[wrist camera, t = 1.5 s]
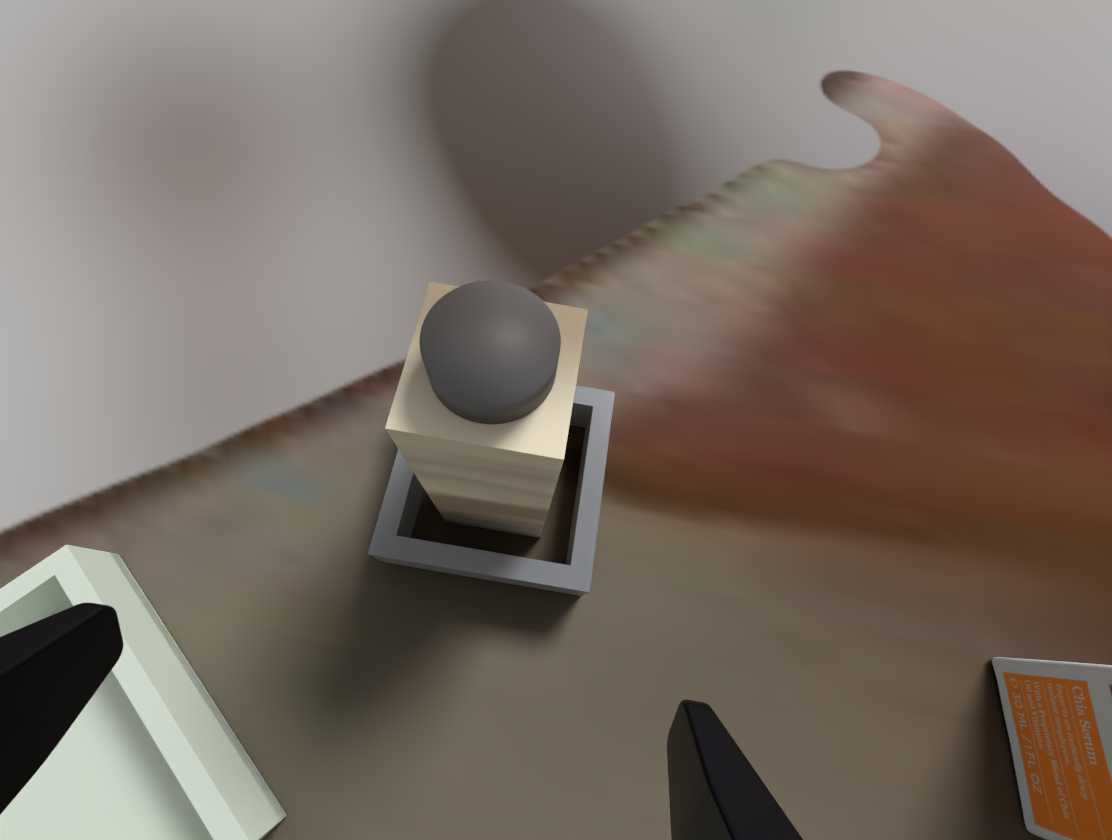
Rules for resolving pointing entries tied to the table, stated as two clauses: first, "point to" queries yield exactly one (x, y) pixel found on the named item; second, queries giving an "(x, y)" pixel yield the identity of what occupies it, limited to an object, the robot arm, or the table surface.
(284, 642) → the table surface
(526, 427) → the birch strut
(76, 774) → the sage tray
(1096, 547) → the table surface
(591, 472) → the frame
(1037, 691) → the skincare box
